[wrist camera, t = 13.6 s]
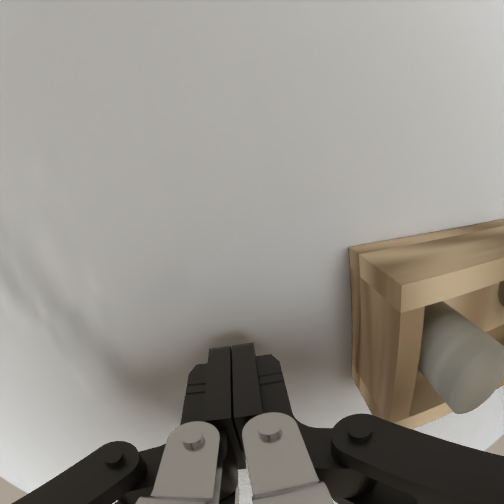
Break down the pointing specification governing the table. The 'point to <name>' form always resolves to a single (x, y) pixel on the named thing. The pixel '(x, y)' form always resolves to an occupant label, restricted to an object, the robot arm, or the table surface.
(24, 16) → the table surface
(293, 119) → the table surface
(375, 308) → the tray
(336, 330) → the table surface
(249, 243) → the table surface
